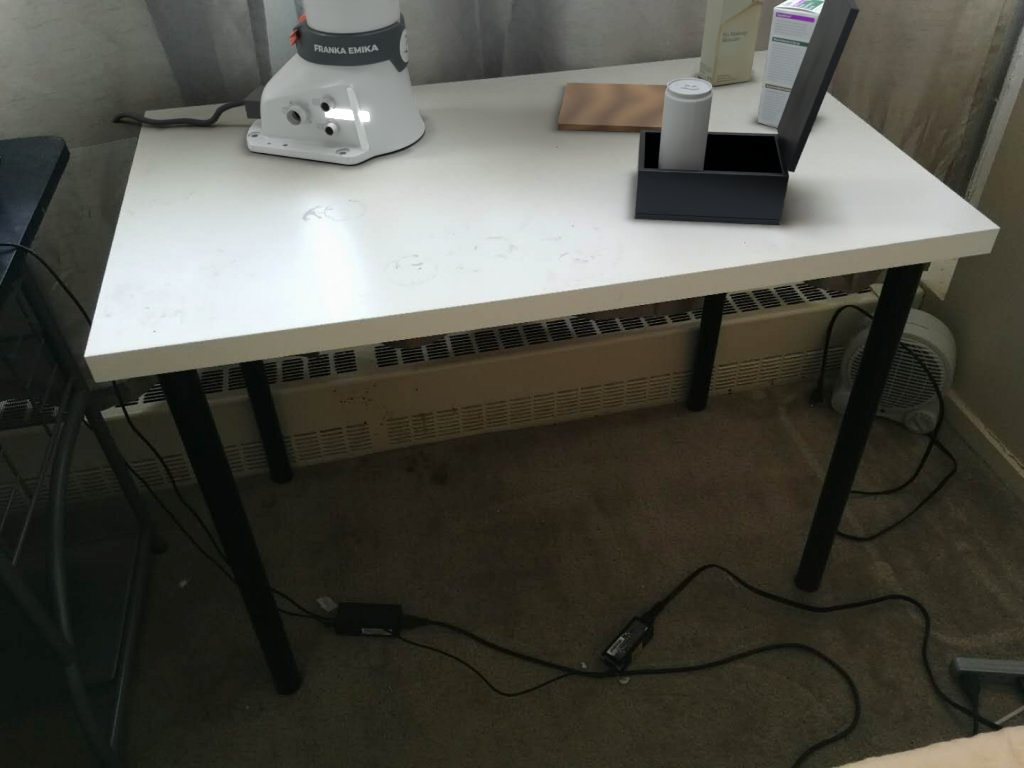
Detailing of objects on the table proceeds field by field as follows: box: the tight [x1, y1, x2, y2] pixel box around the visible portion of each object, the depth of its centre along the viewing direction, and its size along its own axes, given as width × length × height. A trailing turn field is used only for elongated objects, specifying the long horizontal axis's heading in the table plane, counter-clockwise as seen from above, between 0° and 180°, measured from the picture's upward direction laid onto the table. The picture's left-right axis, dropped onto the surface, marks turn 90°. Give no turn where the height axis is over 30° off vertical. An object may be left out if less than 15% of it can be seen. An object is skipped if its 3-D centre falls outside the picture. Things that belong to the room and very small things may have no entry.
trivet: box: [556, 82, 667, 133], centre depth 114 cm, size 14×14×1 cm
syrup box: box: [756, 0, 825, 129], centre depth 106 cm, size 6×6×14 cm
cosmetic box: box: [698, 0, 764, 87], centre depth 118 cm, size 6×4×12 cm
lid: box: [776, 0, 860, 173], centre depth 85 cm, size 16×10×1 cm
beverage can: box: [658, 77, 713, 170], centre depth 91 cm, size 5×5×12 cm
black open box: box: [634, 129, 790, 226], centre depth 93 cm, size 15×10×6 cm
